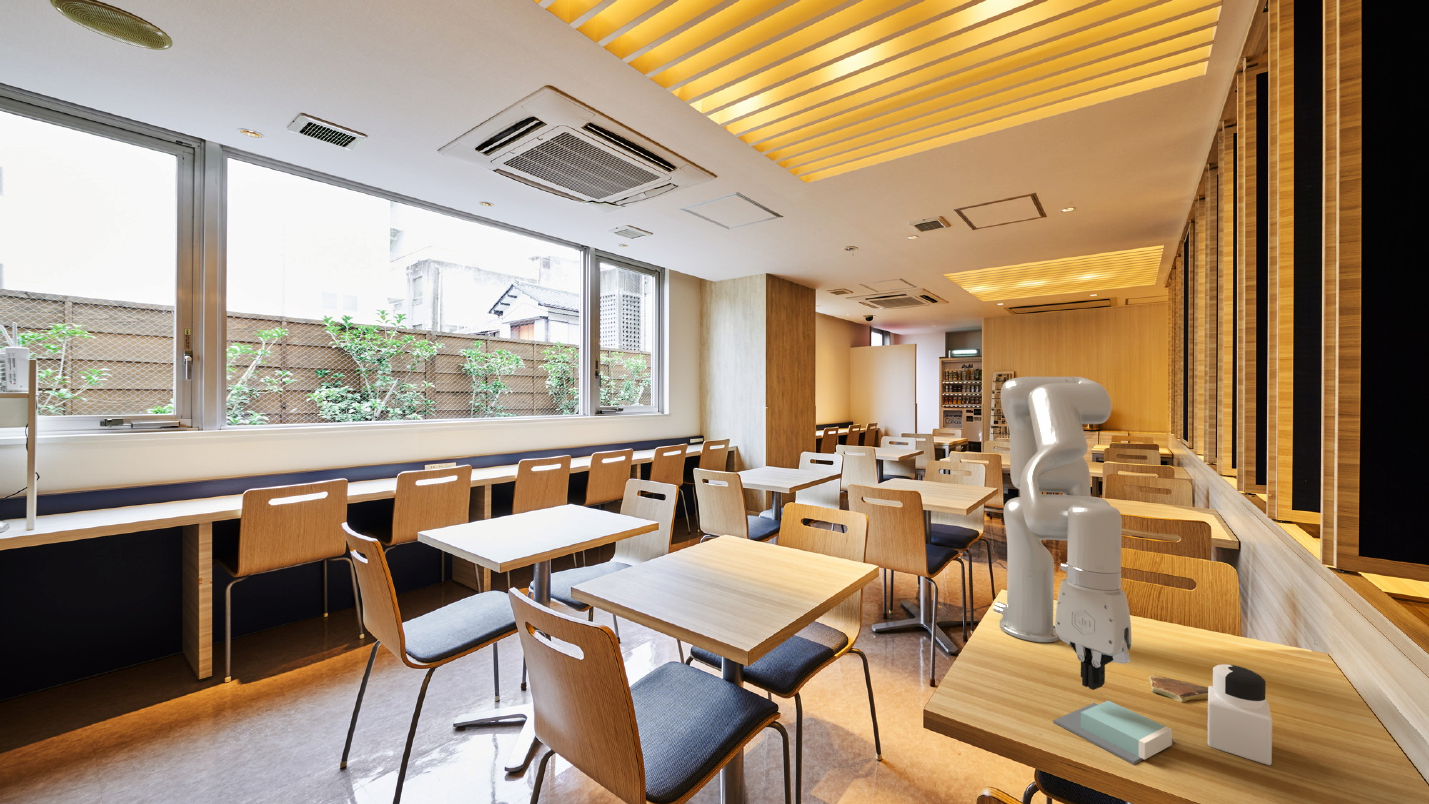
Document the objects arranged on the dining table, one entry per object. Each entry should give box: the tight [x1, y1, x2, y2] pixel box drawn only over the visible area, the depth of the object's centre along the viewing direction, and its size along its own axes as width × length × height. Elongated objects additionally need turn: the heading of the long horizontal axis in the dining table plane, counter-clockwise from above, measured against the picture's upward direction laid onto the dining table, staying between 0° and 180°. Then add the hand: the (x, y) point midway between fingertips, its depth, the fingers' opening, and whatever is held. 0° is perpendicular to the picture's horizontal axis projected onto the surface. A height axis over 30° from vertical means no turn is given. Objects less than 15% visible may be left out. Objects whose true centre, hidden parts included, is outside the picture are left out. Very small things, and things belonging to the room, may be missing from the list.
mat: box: [1052, 702, 1175, 765], centre depth 91 cm, size 12×12×1 cm
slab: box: [1081, 700, 1173, 760], centre depth 89 cm, size 2×8×9 cm
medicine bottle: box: [1207, 664, 1273, 766], centre depth 88 cm, size 7×7×12 cm
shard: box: [1149, 674, 1209, 703], centre depth 103 cm, size 11×8×2 cm
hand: (1092, 685), depth 94 cm, fingers closed
